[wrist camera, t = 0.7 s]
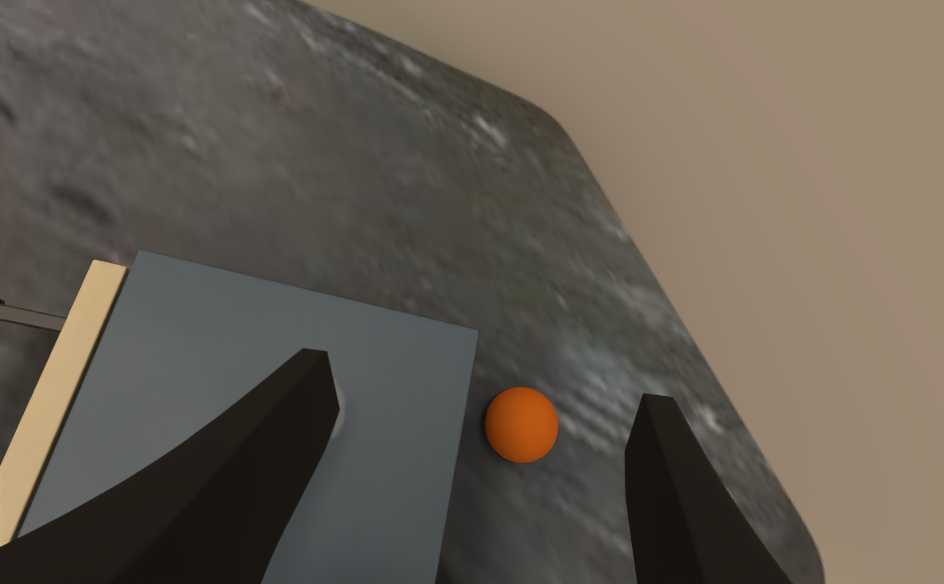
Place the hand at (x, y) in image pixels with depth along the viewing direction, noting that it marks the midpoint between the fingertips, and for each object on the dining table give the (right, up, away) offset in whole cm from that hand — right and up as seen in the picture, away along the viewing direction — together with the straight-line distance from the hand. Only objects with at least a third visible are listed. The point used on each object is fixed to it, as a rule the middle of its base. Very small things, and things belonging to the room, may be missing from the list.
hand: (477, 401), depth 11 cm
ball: (+3, -5, +16) cm, 16 cm away
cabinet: (-9, -5, +14) cm, 18 cm away
